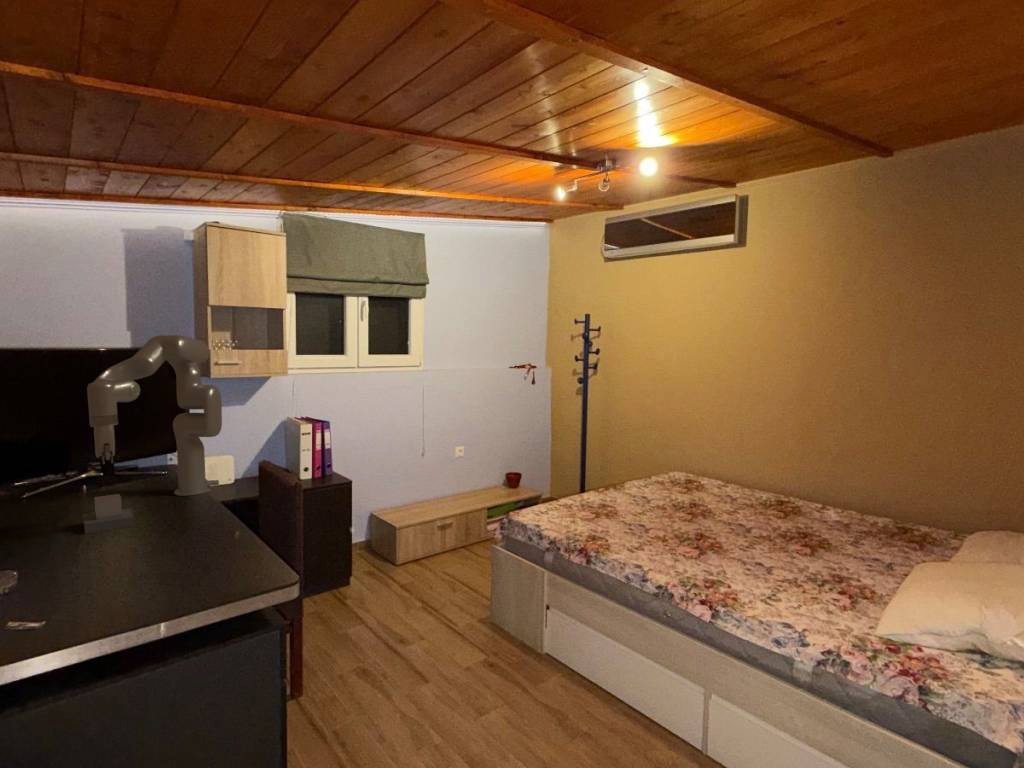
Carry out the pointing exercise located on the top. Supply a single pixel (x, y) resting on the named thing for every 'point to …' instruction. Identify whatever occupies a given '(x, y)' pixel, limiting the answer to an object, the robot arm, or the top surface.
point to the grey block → (108, 522)
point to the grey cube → (108, 506)
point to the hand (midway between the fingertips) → (107, 473)
